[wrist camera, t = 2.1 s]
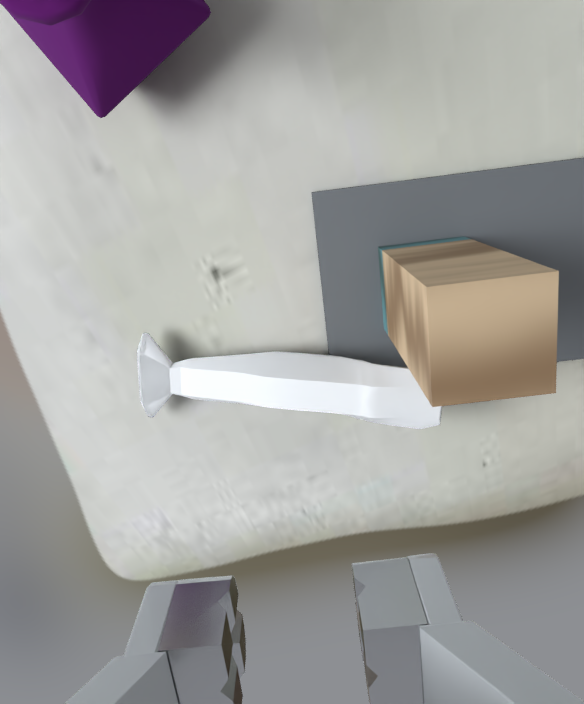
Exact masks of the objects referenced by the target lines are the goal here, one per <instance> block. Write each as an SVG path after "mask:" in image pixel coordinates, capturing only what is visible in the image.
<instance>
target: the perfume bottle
mask: <svg viewBox="0 0 584 704" xmlns="http://www.w3.org/2000/svg"><path fill="white" fill-rule="evenodd" d="M0 4H2V5H3V6H4V7H5V9H6V10H7V11H8V12H9V13H10V14H11V16H12V17H13V18H14V19H15V20H16V21H17V23H18V24H19V25H20V26H21V27H22V28H23V30H24V31H25V32H26V33H27V34H28V35H29V37H30V38H31V39H32V40H33V41H34V42H35V44H36V45H37V46H38V47H39V48H40V49H41V51H42V52H43V53H44V54H45V55H46V56H47V58H48V59H49V60H50V61H51V62H52V64H53V65H54V66H55V67H56V68H57V69H58V71H59V72H60V73H61V74H62V75H63V76H64V78H65V79H66V80H67V81H68V82H69V83H70V85H71V86H72V87H73V88H74V89H75V90H76V92H77V93H78V94H79V95H80V96H81V97H82V99H83V100H84V101H85V102H86V103H87V104H88V106H89V107H90V108H91V109H92V110H93V111H94V113H95V114H96V115H97V116H98V117H100V118H102V117H105V116H106V115H107V114H108V113H109V112H110V111H112V110H113V109H114V108H115V107H116V106H117V105H118V104H119V103H120V102H121V101H122V100H123V99H124V98H125V97H126V96H127V95H128V94H129V93H130V92H131V91H132V90H133V89H134V88H136V87H137V86H138V85H139V84H140V83H141V82H142V81H143V80H144V79H145V78H146V77H147V76H148V75H149V74H150V73H151V72H152V71H153V70H154V69H155V68H156V67H157V66H158V65H160V64H161V63H162V62H163V61H164V60H165V59H166V58H167V57H168V56H169V55H170V54H171V53H172V52H173V51H174V50H175V49H176V48H177V47H178V46H179V45H180V44H181V43H182V42H183V41H185V40H186V39H187V38H188V37H189V36H190V35H191V34H192V33H193V32H194V31H195V30H196V29H197V28H198V27H199V26H200V25H201V24H202V23H203V22H204V21H205V20H206V19H207V18H209V16H210V13H211V11H210V8H209V7H208V5H207V4H206V3H205V1H204V0H0Z"/></svg>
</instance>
